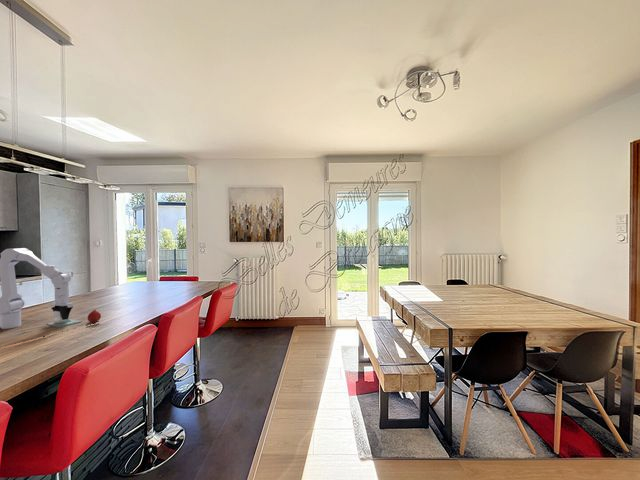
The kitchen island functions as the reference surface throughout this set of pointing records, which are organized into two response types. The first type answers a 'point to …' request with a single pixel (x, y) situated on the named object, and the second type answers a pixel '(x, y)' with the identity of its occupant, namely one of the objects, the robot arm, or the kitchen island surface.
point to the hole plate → (64, 323)
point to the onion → (94, 316)
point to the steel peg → (59, 317)
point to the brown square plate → (34, 328)
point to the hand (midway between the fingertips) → (62, 318)
